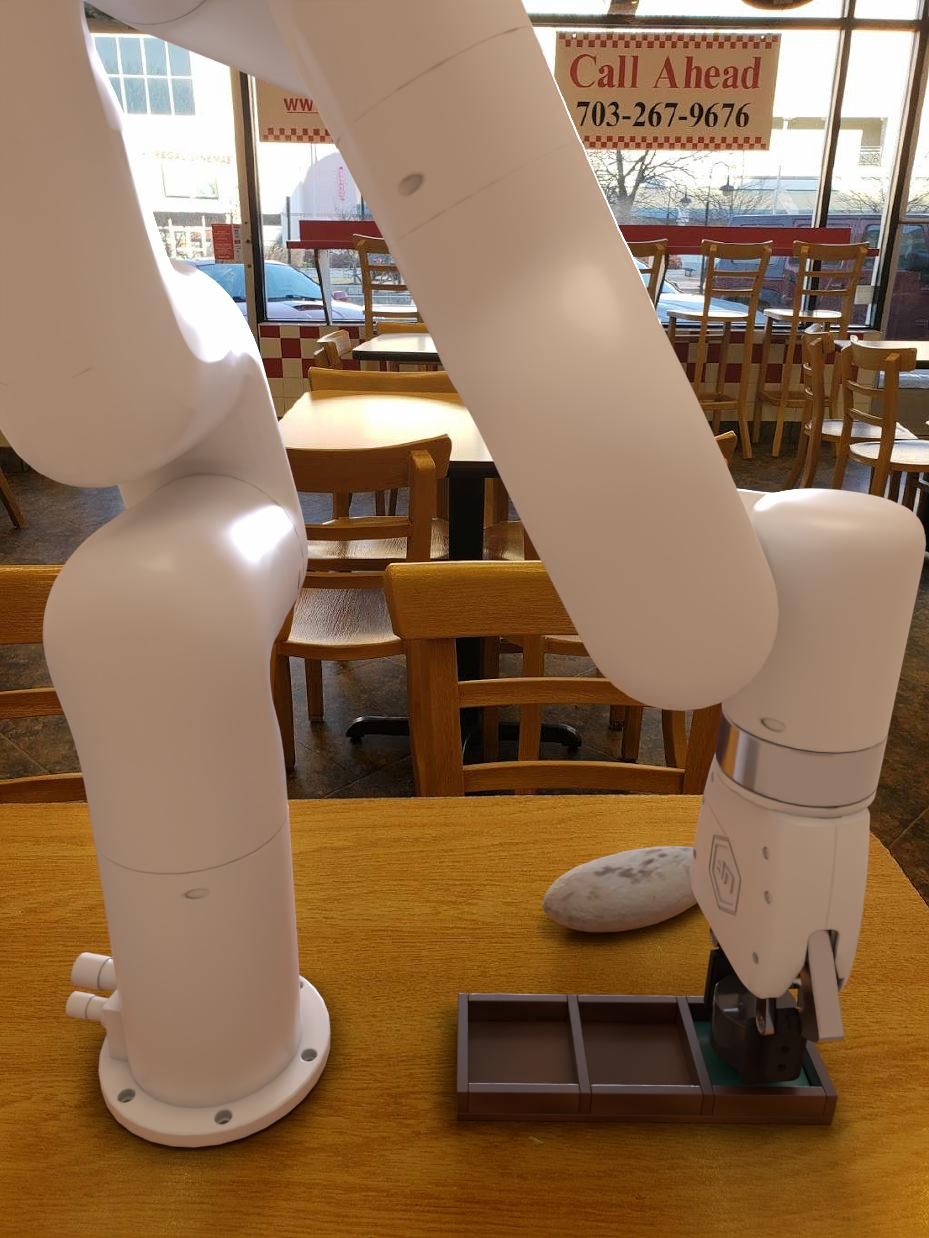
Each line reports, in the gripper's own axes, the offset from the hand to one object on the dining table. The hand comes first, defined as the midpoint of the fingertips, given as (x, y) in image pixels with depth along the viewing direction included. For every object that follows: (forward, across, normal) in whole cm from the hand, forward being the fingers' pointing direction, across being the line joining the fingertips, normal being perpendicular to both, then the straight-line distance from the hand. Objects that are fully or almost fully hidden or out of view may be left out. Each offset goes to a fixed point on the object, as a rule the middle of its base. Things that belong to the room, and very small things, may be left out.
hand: (749, 1038), depth 52 cm
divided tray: (+2, -1, -6) cm, 7 cm away
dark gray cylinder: (0, 0, 0) cm, 0 cm away
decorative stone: (+3, -14, -2) cm, 15 cm away
